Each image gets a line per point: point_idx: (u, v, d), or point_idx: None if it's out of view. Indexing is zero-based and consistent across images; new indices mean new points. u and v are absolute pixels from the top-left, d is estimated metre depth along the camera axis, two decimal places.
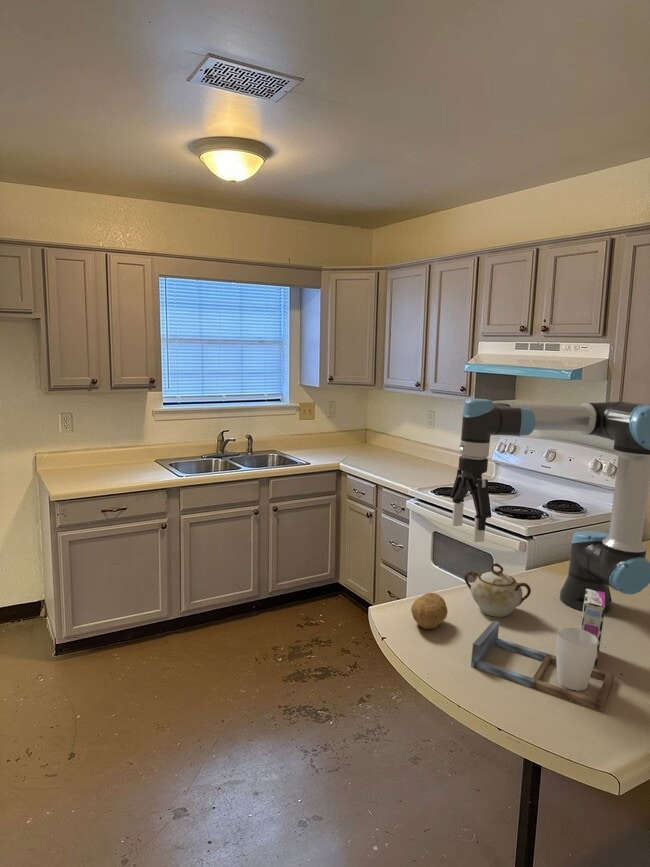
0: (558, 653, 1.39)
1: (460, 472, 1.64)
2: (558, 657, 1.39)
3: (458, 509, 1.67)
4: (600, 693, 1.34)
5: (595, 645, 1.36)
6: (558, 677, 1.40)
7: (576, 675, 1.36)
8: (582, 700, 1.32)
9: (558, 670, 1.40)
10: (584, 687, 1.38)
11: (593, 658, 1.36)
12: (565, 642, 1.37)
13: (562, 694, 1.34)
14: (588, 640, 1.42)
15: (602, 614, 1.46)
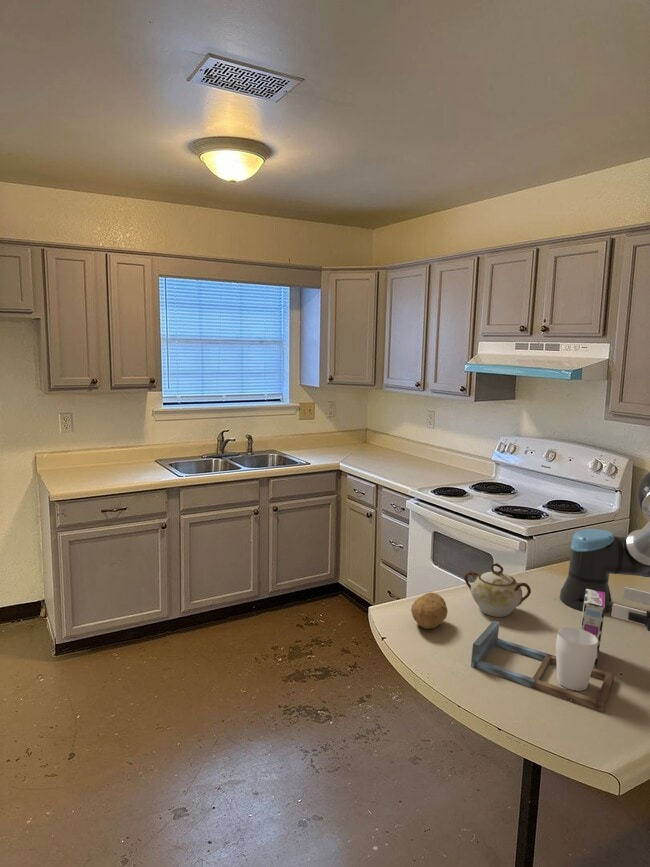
0: (558, 653, 1.39)
1: None
2: (558, 657, 1.39)
3: None
4: (600, 693, 1.34)
5: (595, 645, 1.36)
6: (558, 677, 1.40)
7: (576, 675, 1.36)
8: (582, 700, 1.32)
9: (558, 670, 1.40)
10: (584, 687, 1.38)
11: (593, 658, 1.36)
12: (565, 642, 1.37)
13: (562, 694, 1.34)
14: (588, 640, 1.42)
15: (602, 614, 1.46)
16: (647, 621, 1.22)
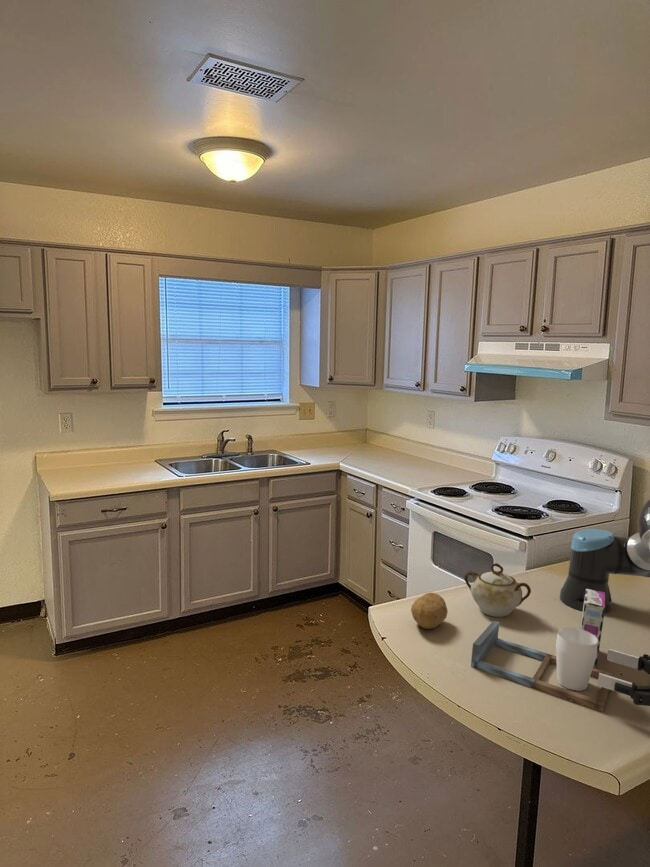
0: (558, 653, 1.39)
1: None
2: (558, 657, 1.39)
3: None
4: (600, 693, 1.34)
5: (595, 645, 1.36)
6: (558, 677, 1.40)
7: (576, 675, 1.36)
8: (582, 700, 1.32)
9: (558, 670, 1.40)
10: (584, 687, 1.38)
11: (593, 658, 1.36)
12: (565, 642, 1.37)
13: (562, 694, 1.34)
14: (588, 640, 1.42)
15: (602, 614, 1.46)
16: (633, 694, 1.24)
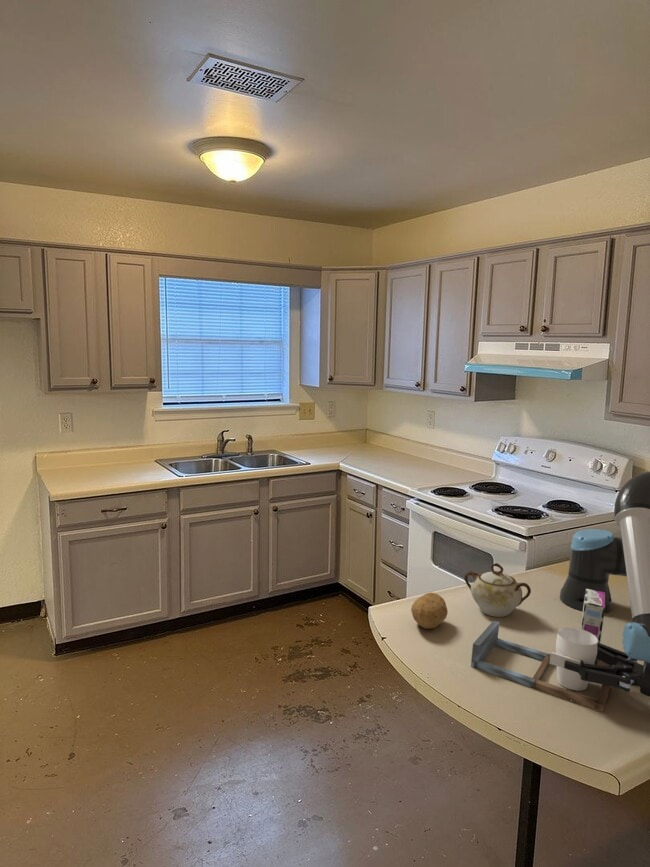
0: (558, 653, 1.39)
1: None
2: None
3: None
4: (600, 693, 1.34)
5: (595, 645, 1.36)
6: (558, 677, 1.40)
7: (576, 674, 1.36)
8: (582, 700, 1.32)
9: (558, 670, 1.40)
10: (584, 687, 1.38)
11: (593, 658, 1.36)
12: (565, 642, 1.37)
13: (562, 694, 1.34)
14: (588, 640, 1.42)
15: (602, 614, 1.46)
16: (580, 670, 1.32)
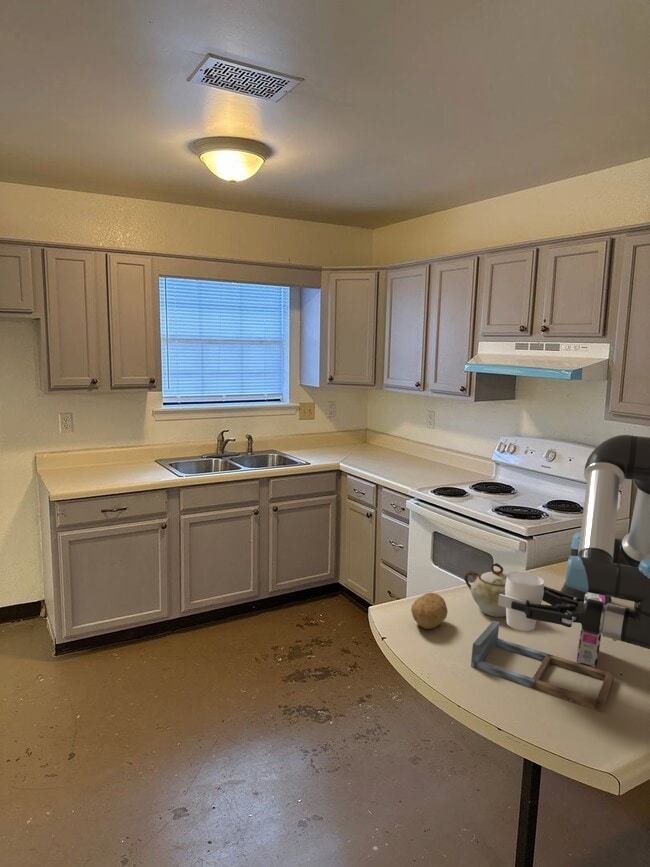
0: (506, 595, 1.44)
1: None
2: None
3: None
4: (600, 693, 1.34)
5: (541, 586, 1.41)
6: (507, 619, 1.46)
7: (523, 615, 1.42)
8: (582, 700, 1.32)
9: (507, 612, 1.45)
10: (531, 627, 1.43)
11: (539, 599, 1.41)
12: (513, 584, 1.42)
13: (562, 694, 1.34)
14: (536, 583, 1.47)
15: None
16: (526, 609, 1.38)
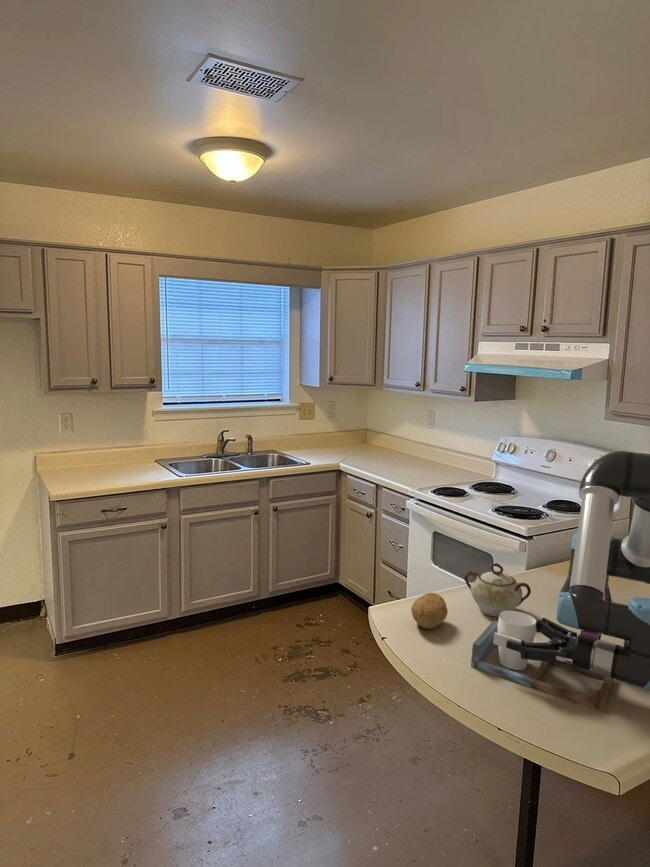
0: None
1: None
2: None
3: None
4: (600, 693, 1.34)
5: (532, 626, 1.44)
6: (499, 657, 1.48)
7: (515, 654, 1.44)
8: (582, 700, 1.32)
9: (499, 651, 1.48)
10: (523, 666, 1.45)
11: (531, 639, 1.44)
12: (505, 624, 1.45)
13: (562, 694, 1.34)
14: (528, 622, 1.49)
15: None
16: (521, 649, 1.37)
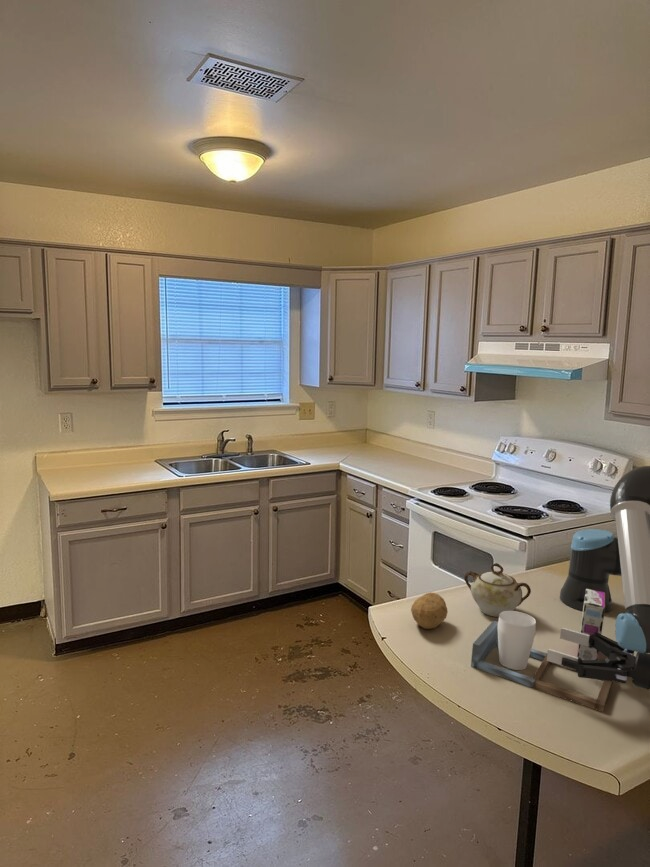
0: (499, 634, 1.47)
1: None
2: (499, 638, 1.47)
3: None
4: (600, 693, 1.34)
5: (532, 626, 1.44)
6: (499, 657, 1.48)
7: (515, 654, 1.44)
8: (582, 700, 1.32)
9: (499, 651, 1.48)
10: (523, 666, 1.45)
11: (531, 639, 1.44)
12: (505, 624, 1.45)
13: (562, 694, 1.34)
14: (528, 622, 1.49)
15: (602, 614, 1.46)
16: (578, 667, 1.31)
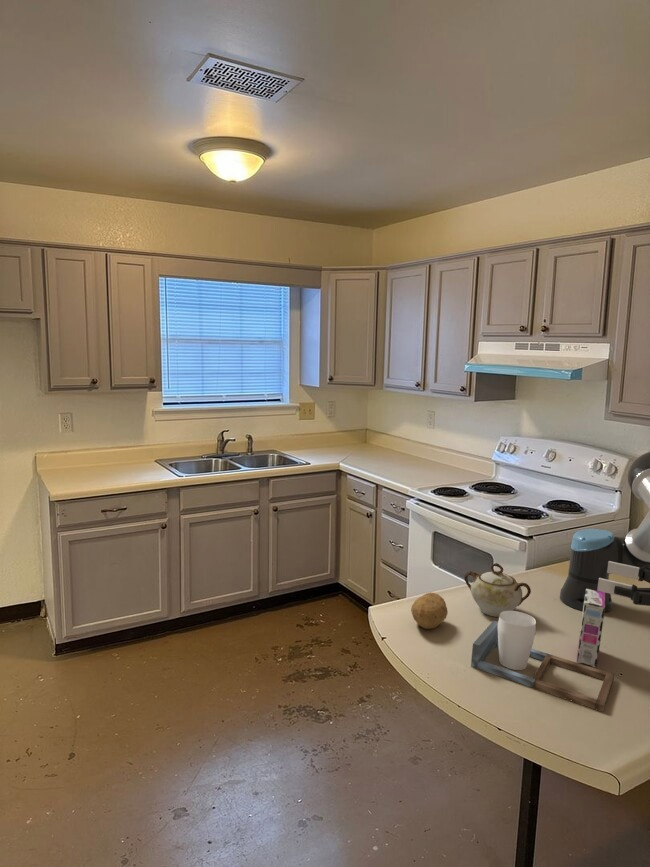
0: (499, 634, 1.47)
1: None
2: (499, 638, 1.47)
3: None
4: (600, 693, 1.34)
5: (533, 627, 1.44)
6: (499, 657, 1.48)
7: (515, 655, 1.44)
8: (582, 700, 1.32)
9: (499, 651, 1.48)
10: (523, 666, 1.45)
11: (531, 639, 1.44)
12: (505, 624, 1.45)
13: (562, 694, 1.34)
14: (528, 622, 1.49)
15: (602, 614, 1.46)
16: (633, 594, 1.23)
